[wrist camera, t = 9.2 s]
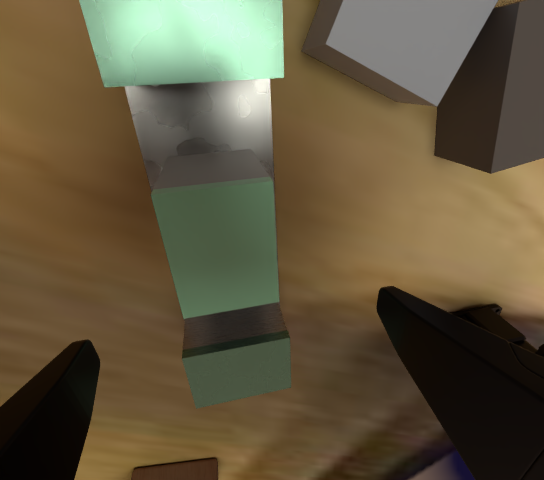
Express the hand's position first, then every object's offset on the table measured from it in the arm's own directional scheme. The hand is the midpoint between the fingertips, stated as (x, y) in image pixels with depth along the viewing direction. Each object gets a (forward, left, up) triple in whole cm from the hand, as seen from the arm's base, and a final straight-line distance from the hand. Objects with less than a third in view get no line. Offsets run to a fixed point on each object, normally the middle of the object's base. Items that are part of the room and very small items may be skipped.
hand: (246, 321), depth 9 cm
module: (0, 0, -10) cm, 10 cm away
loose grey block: (+6, -17, -12) cm, 22 cm away
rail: (0, +1, -12) cm, 12 cm away
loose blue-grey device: (+9, -9, -12) cm, 18 cm away
